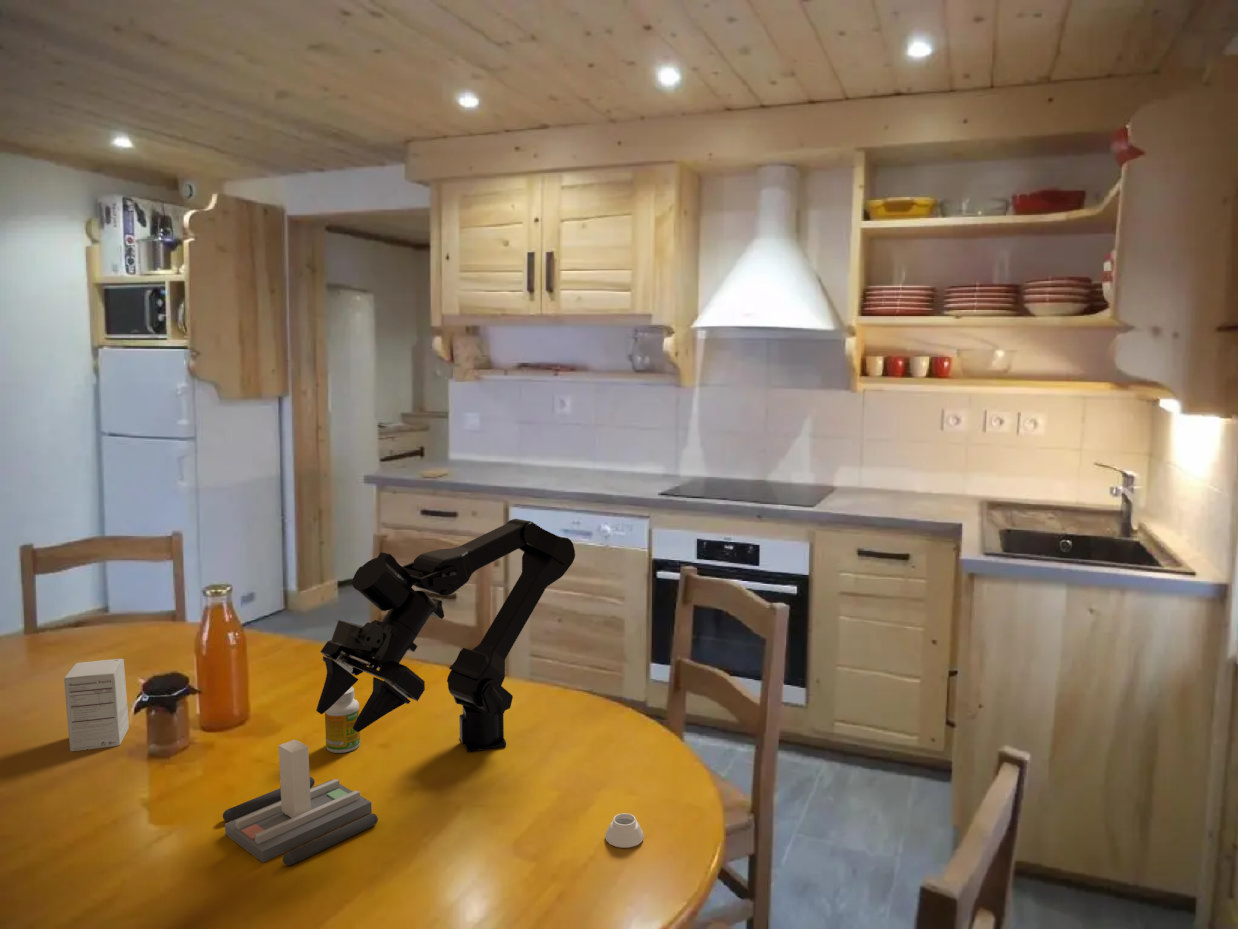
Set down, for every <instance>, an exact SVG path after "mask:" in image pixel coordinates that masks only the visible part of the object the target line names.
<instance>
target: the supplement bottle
mask: <svg viewBox="0 0 1238 929" xmlns="http://www.w3.org/2000/svg"><path fill="white" fill-rule="evenodd" d="M360 713H361V712H360V703H359V701H358V700H357V699H355V688H354V687H353V686H352V687H351V688H350V689H349V690H348V691H347V692H346V693H345V694H344V695H343V696H342V697H340V698H339V699H338V700H337V701H336V702H335V703H334V704H333V705H332V706H331V707H330V708H329V709H328V710H327V711H326V712H324V721H325V722H324V726H325V727H324V728H325V729H324V730H325V747H326V750H327V751H328V752H331V753H335V754H342V753H343V754H345V753H348V752H349V753H350V752H352V751H355V750H356V749H357V748H359V747H360V744H361V731H360V732H356V731H355V730H354V729H353V726H354V724H355V722H356V720H357V718H358V716H359V714H360Z"/></svg>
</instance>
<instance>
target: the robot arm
mask: <svg viewBox="0 0 1238 929" xmlns="http://www.w3.org/2000/svg"><path fill="white" fill-rule="evenodd" d="M518 549H519V550H520V551H521V552H523V553H522V556H521V574H520V575H519V577H518V578H517V581H516V582H515V584H514V586H513V588H512V589H511V591H510V592H509V594H508V595H507V598H506V599H505V601H504V602H503V604H502V605H501V608H500V609H499V611H498V613H497V615H496V616H495V617H494V619H493V621H492V622H491V624H490V626H489V628H488V630H487V631H486V632H485V634H484V636H483V638H482V639H481V641H480V642H479V644H478V645H477V646H475V647H473V648H472V649H469V648H466V647H462V648H461V650H460V651H459V652H458V655H457V657H456V659H455V661H454V662H453V663H452V664H451V665H450V666H449V667H448V669H449V670H450V672H449V673H448V676H447V679H446V682H447V689H448V692H449V694H450V695H451V696H452V698H453V699H454V702H455V704H456V705H460V706H462V713H461V714H459V716H458V718H459V739H460V741H461V744H462V745H464V748H465V750H466V752H469V753H470V752H471V753H472V752H477V751H478V752H479V751H482V750H490V749H496V748H503V747H506V746H507V741H506V739H505V737H504V736H505V735H504V734H505V732H504V731H505V729H504V727H505V726H504V725H505V724H504V714H505V712H506V711H507V710H509V709H511V707H512V702H513V698H514V697H513V696H514V695H513V694H511V693H510V692H509V691H508V690H507V689H505V688H504V687H503V683H504V680H505V678H506V659H507V657H508V655H509V653H510V651H511V650H512V648H513V646H514V645H515V642H516V641H517V639H518V638H519V635H521V632H522V631H523V629H524V627H525V625H526V624H527V622H528V620H529V618H530V616H531V615H532V613H533V611H534V609H535V608H536V607H537V604H538V603H539V601H540V599H541V598H542V596H543V594H544V592H545V591H546V589H548V587H549V586H550V585H552V584H554V583H555V582H556V581H558V580H559V579H561V578H562V577H563V576H564V575H565V574H566V572H567V571H568V570H569V568H570V567H571V566H572V565H573V563H574V560H575V558H576V550H575V546H574V543H573V541H572V540H571V539H570V538H569V537H566V536H565V537H564V536H559V535H556V534H555V533H552V532H550V531H548V530H545V529H544V528H542V527H540V526H539V525H538V524H536V523H535V522H533V521H531V520H525V519H519V518H513V519H510V520H508V521H507V522H506V523H505V524H503V525H501V526H499V527H496V528H495V529H493V530H491V531H488V532H487V533H485V534H482V535H479V536H478V537H476V538H473V539H472V540H470V541H468V542H465V543H463V544H462V545H459V546H455V547H450V548H441V549H435V550H432V551H428V552H423V553H421V554H419V555H417V556H416V557H415V558H414V559H413V561H412V562H410V563H407V564H404V565H400V563H398V562H397V559H396V558H395V556H393V555H392V554H391V553H388V552H384V551H381V552H380V553H379V554H378V556H376V557H375V558H372V559H370V560H368V561H367V562H365V563H364V564H363V565H361V566H359V567H358V568H357V570H356V572H355V573H354V575H353V578H352V588H353V589H355V590H356V591H357V592H358V594H359V593H360V595H362V596H363V597H364V598H366V600H367V601H369V603H371V604H372V605H373V606H375V607H376V609H378V610H379V611H382V612H383V611H384V612H386V611H387V612H386V613H385V615H384V616H383V618H382V620H380V621H379V620H377V619H374V620H373V621H371V622H366V623H365V624H364V625H361V624H357V623H353V622H349V621H346V620H341V619H338V620H337V623H336V626H335V629H334V631H333V634H332V638H331V640H327V642H326V643H325V645H324V646H322V648H321V650H320V653H321V654H322V655H323V656H322V661H323V662H324V663H325V664H324V665H325V668H326V677H325V680H324V684H323V687H322V691H321V694H320V698H319V700H318V703H317V707H316V712H317V713H318V714H319V715H323V714H325V712H326V711H327V710H328V709H329V708H330V707H331V706H332V705H333V704H334V703H335V702H336V701H337V700H338V699H339V698H340V697H342V696H343V695H344V694H345V693H346V692H347V691H348V690H349V689H350V688H351V687H353V686H354V685H355V684H356V683H357V682H358V681H359V678H358V677H357V676H358V675H360V674H362V673H365V674H369V675H371V676H373V678H372V692H371V694H370V696H369V698H368V699H367V701H366V703H365V704H364V705H363V707H362V709H361V711H360V712H359V713H360V714H359V716H358V718H357V720H356V722H355V724H354V726H353V729H354V730H355V731H356V732H360V733H361V731H363V730H364V729H366V728H367V727H369V726H370V725H372V724H374V723H375V722H376V721H378V720H379V719H380V718H383V717H384V716H386V715H387V714H389V713H390V712H393V711H394V710H396V709H398V708H399V707H400V708H401V706H404V705H405V704H406V705H409V704H410V703H411V700H414V701H416V702H418V701H419V700H420V699H421V697H422V696H423V694H424V692H425V691H426V688H425V687H426V685H425V680H424V679H422V678H421V677H420V676H419V675H418V674H416V672H414V671H413V670H412V669H411V668H409V667H408V666H407V665H405V664H402V663H401V662H402V660H403V658H404V657H405V656H406V654H407V652H408V651H410V652H413V653H414V652H416V650H417V649H418V647H419V646H418V645H417V644H416V643H414V642H415V641H416V639H417V637H418V636H419V634H420V633H421V631H422V630H423V628H424V627H425V625H426V624H427V622H428V621H429V619H430V618H431V617H435V618H438V619H439V620H440V619H441V620H443V619H444V617H445V612H444V609H443V601H442V600H440V599H437V598H435V597H434V598H433V597H430V595H428V593H429V592H430V593H433V594H437V595H439V596H443V597H445V596H446V597H447V596H450V595H453V594H455V592H457V591H459V589H461V588H462V587H463V586H465V585H466V584H467V583H468V582H469V580H470V579H471V577H472V575H473V574H474V573H475V572H477V571H478V570H480V569H482V568H483V567H486V566H488V565H489V564H492V563H493V562H495V561H497V560H499V559H502V558H503V557H505V556H507V555H509V554H511V553H513V552H515V551H517V550H518ZM413 587H415V588H417V589H420V590H415V589H414V588H413ZM425 591H426V592H428V593H426V592H425ZM410 699H411V700H410Z"/></svg>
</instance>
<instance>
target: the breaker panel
mask: <svg viewBox="0 0 1238 929" xmlns="http://www.w3.org/2000/svg"><path fill="white" fill-rule="evenodd" d="M310 799H311V810H310V811H308V812H305V813H303V814H301V815H298V816H296V817H294V818H291V817H290V816H288V815H286V814H285V813H283V812H282V807H281V800H280V801H277V802H275V803H273V804H270V805H268V806H265V807H263V808H261V809H258V810H256V811H253V812H251V813H248V814H246V815H244V816H241V817H239V818H236V819H234V820H231V821H227V822H226V823H224V831H225V832H224V833H225V834H224V835H226V837H228V838H229V839H231V840H232V841H234V842H235V843H236V844H238V845H239V846H240V847H241V848H243V849H244V850H245V851H246V852H248V853H249V854H250V855H252V856H253V857H255V858H256V859H257V860H259V861H260V862H261V863H265V862H268V861H269V860H271V859H273V858H275V857H278V856H279V855H283V854H284V853H285V854H286V853H287V852H289V851H292V850H294V849H296V848H298V847H300V846H302V845H305V844H307V843H309V842H311V841H313V840H315V839H317V838H320V837H322V836H324V835H326V834H328V833H330V832H332V831H335V830H337V829H339V828H341V827H343V826H345V825H348V824H350V823H352V822H354V821H356V820H358V819H360V818H363V817H365V816H367V815H369V814H372V812H373V810H372V808H373V807H372V806H373V805H372V801H371V800H369V799H366V797H364V796H362V795H361V792H360V791H359V790H354V791H353V790H351V789H350V788H347V787H346V786H345V785H342V784H341V783H340V780H339V779H337V778H335V779H330V780H327V781H325V782H322V783H320V784H317V785H314V786H313V787H311V788H310Z"/></svg>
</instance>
